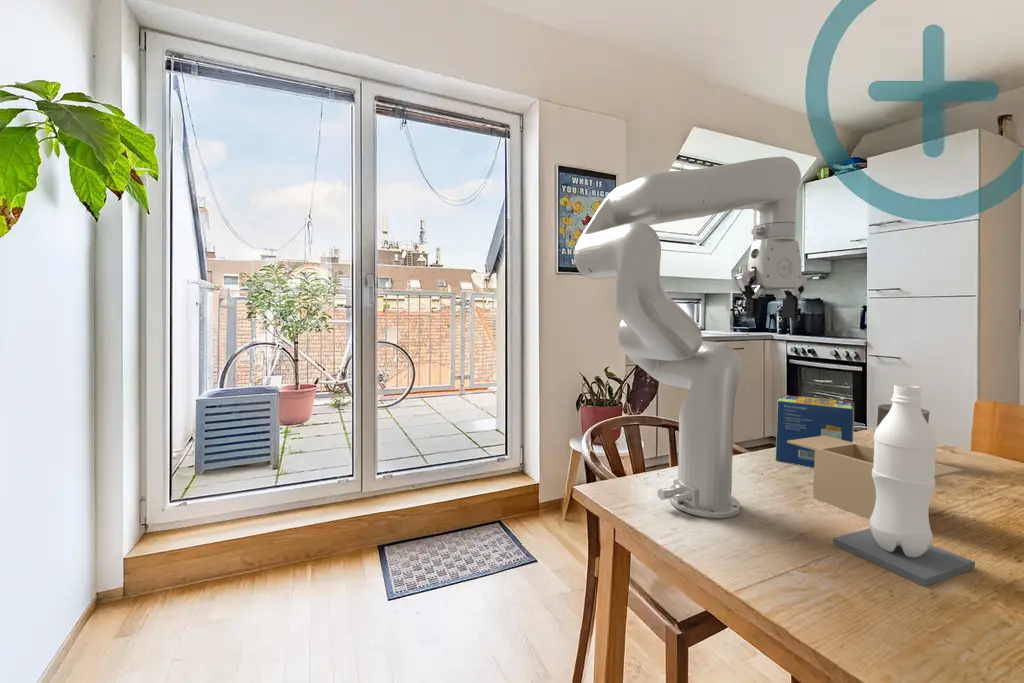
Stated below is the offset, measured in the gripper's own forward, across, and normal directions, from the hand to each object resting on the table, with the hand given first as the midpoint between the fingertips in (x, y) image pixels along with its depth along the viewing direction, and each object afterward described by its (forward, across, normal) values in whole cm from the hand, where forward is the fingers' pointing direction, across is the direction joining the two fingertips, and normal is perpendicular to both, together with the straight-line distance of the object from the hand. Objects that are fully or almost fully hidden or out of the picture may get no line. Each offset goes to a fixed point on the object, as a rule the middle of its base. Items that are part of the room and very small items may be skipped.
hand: (771, 317), depth 93 cm
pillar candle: (+37, +45, +3) cm, 58 cm away
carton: (+36, +10, -12) cm, 40 cm away
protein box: (+37, +25, +10) cm, 45 cm away
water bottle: (+35, -4, -27) cm, 45 cm away
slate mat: (+36, -4, -28) cm, 45 cm away
